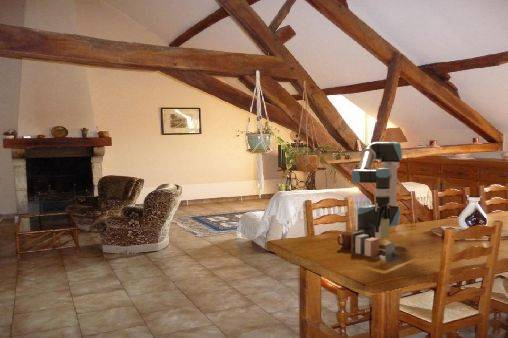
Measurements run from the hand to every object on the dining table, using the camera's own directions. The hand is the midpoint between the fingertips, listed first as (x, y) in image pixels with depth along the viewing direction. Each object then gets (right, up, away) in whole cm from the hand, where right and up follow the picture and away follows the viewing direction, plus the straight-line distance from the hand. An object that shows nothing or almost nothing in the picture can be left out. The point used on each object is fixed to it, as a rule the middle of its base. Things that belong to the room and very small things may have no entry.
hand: (382, 236), depth 256 cm
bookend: (+4, -12, -3) cm, 13 cm away
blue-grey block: (-9, -11, +11) cm, 18 cm away
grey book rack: (-3, -13, +5) cm, 14 cm away
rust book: (-4, -11, +6) cm, 13 cm away
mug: (-16, -12, +22) cm, 29 cm away
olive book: (0, 0, 0) cm, 0 cm away
